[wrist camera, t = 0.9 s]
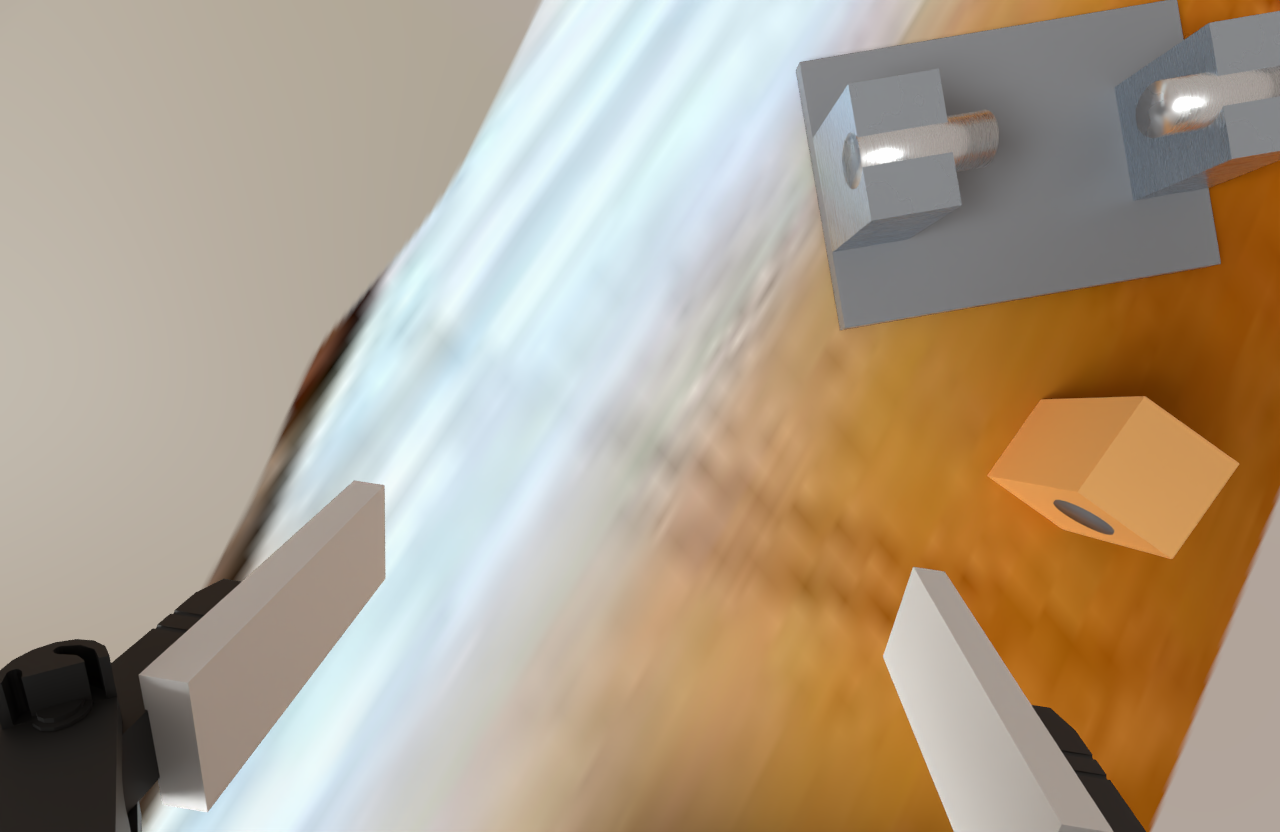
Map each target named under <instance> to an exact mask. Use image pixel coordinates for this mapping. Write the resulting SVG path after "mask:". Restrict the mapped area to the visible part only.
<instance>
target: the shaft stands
mask: <svg viewBox="0 0 1280 832" xmlns="http://www.w3.org/2000/svg"><path fill="white" fill-rule="evenodd" d="M1114 88H1115V94H1116V100H1117V106H1118V112H1119V118H1120V124H1121V130H1122V136H1123V142H1124V148H1125V154H1126V159H1127V165H1128V171H1129V177H1130V183H1131V189H1132V195H1133V201H1136V200H1141V199H1147V198H1153V197H1159V196H1165V195H1171V194H1176V193H1182V192H1188V191H1194V190H1200V189H1206V188H1210V187H1212V186H1215V185H1217V184H1220V183H1223V182H1225V181H1228V180H1230V179H1233V178H1235V177H1238V176H1240V175H1243V174H1245V173H1248V172H1251V171H1253V170H1256V169H1258V168H1261V167H1263V166H1266V165H1268V164H1271V163H1274V162H1276V161H1279V160H1280V11H1277V12H1271V13H1265V14H1259V15H1253V16H1247V17H1241V18H1235V19H1229V20H1224V21H1218V22H1212V23H1208V24H1207V25H1205V26H1204V27H1202V28H1201V29H1200V30H1198V31H1197V32H1195V33H1194V34H1192V35H1191V36H1189V37H1188V38H1186V39H1185V40H1183V41H1182V42H1180V43H1179V44H1177V45H1176V46H1174V47H1173V48H1172V49H1170V50H1169V51H1167V52H1166V53H1164V54H1163V55H1161V56H1160V57H1158V58H1157V59H1155V60H1154V61H1152V62H1151V63H1149V64H1148V65H1146V66H1145V67H1143V68H1142V69H1141V70H1139V71H1138V72H1136V73H1135V74H1133V75H1132V76H1130V77H1129V78H1127V79H1126V80H1124V81H1123V82H1121V83H1120V84H1118V85H1117V86H1115V87H1114ZM998 141H999V129H998V124H997V121H996V118H995V116H994V115H993V114H992V113H991V112H990V111H989V110H981V111H975V112H969V113H963V114H957V115H951V116H947V114H946V108H945V102H944V96H943V90H942V84H941V78H940V72H939V69H933V70H927V71H921V72H915V73H910V74H904V75H898V76H892V77H886V78H880V79H874V80H868V81H862V82H856V83H850V84H848V85H847V87H846V88H845V90H844V91H843V93H842V94H841V96H840V97H839V99H838V100H837V102H836V103H835V105H834V106H833V108H832V110H831V111H830V113H829V114H828V116H827V117H826V119H825V120H824V122H823V123H822V125H821V126H820V128H819V130H818V131H817V133H816V134H815V136H814V137H813V143H814V149H815V154H816V160H817V166H818V172H819V178H820V184H821V190H822V195H823V201H824V207H825V213H826V219H827V225H828V231H829V236H830V242H831V248H832V252H838V251H843V250H849V249H855V248H861V247H867V246H873V245H878V244H884V243H890V242H896V241H902V240H908V239H909V238H911V237H912V236H914V235H916V234H917V233H919V232H920V231H922V230H924V229H925V228H927V227H928V226H930V225H931V224H933V223H935V222H936V221H938V220H939V219H941V218H942V217H944V216H946V215H947V214H949V213H950V212H952V211H953V210H955V209H957V208H958V207H960V206H961V205H962V202H961V196H960V191H959V185H958V179H957V173H956V172H958V171H964V170H970V169H976V168H982V167H986V166H987V165H989V164H990V163H991V161H992V160H993V158H994V156H995V154H996V151H997V147H998Z"/></svg>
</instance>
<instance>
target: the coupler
mask: <svg viewBox="0 0 1280 832" xmlns="http://www.w3.org/2000/svg"><path fill="white" fill-rule="evenodd" d="M1238 465H1239V463H1238V462H1237V461H1235V460H1234V459H1232V458H1231V457H1230V456H1228V455H1227V454H1225V453H1224V452H1222V451H1221V450H1220V449H1218V448H1217V447H1215V446H1214V445H1213V444H1211V443H1210V442H1208V441H1207V440H1206V439H1204V438H1203V437H1201V436H1200V435H1199V434H1197V433H1196V432H1194V431H1193V430H1192V429H1190V428H1189V427H1187V426H1186V425H1185V424H1183V423H1182V422H1180V421H1179V420H1178V419H1176V418H1175V417H1173V416H1172V415H1171V414H1169V413H1168V412H1166V411H1165V410H1164V409H1162V408H1161V407H1159V406H1158V405H1157V404H1155V403H1154V402H1152V401H1151V400H1150V399H1148V398H1147V397H1145V396H1134V397H1103V398H1071V399H1041V400H1040V401H1039V403H1038V404H1037V405H1036V407H1035V408H1034V410H1033V411H1032V412H1031V414H1030V415H1029V417H1028V418H1027V420H1026V421H1025V422H1024V424H1023V425H1022V427H1021V428H1020V430H1019V431H1018V432H1017V434H1016V435H1015V437H1014V438H1013V439H1012V441H1011V442H1010V444H1009V445H1008V447H1007V448H1006V449H1005V451H1004V452H1003V454H1002V455H1001V457H1000V458H999V459H998V461H997V462H996V464H995V465H994V466H993V468H992V469H991V471H990V472H989V474H988V475H987V476H988V477H989V478H991V479H992V480H994V481H995V482H996V483H998V484H999V485H1001V486H1002V487H1003V488H1005V489H1006V490H1008V491H1009V492H1010V493H1012V494H1013V495H1015V496H1016V497H1018V498H1019V499H1020V500H1022V501H1023V502H1025V503H1026V504H1027V505H1029V506H1030V507H1032V508H1033V509H1034V510H1036V511H1037V512H1039V513H1040V514H1042V515H1043V516H1044V517H1046V518H1047V519H1049V520H1050V521H1051V522H1053V523H1054V524H1056V525H1057V526H1058V527H1060V528H1061V529H1063V530H1066V531H1070V532H1074V533H1077V534H1081V535H1085V536H1088V537H1092V538H1096V539H1099V540H1103V541H1107V542H1110V543H1114V544H1118V545H1121V546H1125V547H1129V548H1132V549H1136V550H1140V551H1143V552H1147V553H1151V554H1154V555H1158V556H1162V557H1165V558H1169V559H1173V558H1174V556H1175V555H1176V553H1177V552H1178V550H1179V549H1180V548H1181V546H1182V545H1183V543H1184V542H1185V540H1186V539H1187V538H1188V536H1189V535H1190V533H1191V532H1192V531H1193V529H1194V528H1195V526H1196V525H1197V523H1198V522H1199V521H1200V519H1201V518H1202V516H1203V515H1204V513H1205V512H1206V511H1207V509H1208V508H1209V506H1210V505H1211V503H1212V502H1213V501H1214V499H1215V498H1216V496H1217V495H1218V494H1219V492H1220V491H1221V489H1222V488H1223V486H1224V485H1225V484H1226V482H1227V481H1228V479H1229V478H1230V476H1231V475H1232V474H1233V472H1234V471H1235V469H1236V468H1237V467H1238Z"/></svg>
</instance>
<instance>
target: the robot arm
mask: <svg viewBox="0 0 1280 832" xmlns="http://www.w3.org/2000/svg"><path fill="white" fill-rule="evenodd" d="M384 580H385V492H384V485H380V484H373V483H367V482H360V481H353V482H352V483H351V484H350V485H349V486H348V487H346V488H345V489H344V490H343V491H342V492H341V493H340V494H339V495H338V496H336V497H335V498H334V499H333V500H332V501H331V502H330V503H329V504H328V505H326V506H325V507H324V508H323V509H322V510H321V511H320V512H319V513H318V514H316V515H315V516H314V517H313V518H312V519H311V520H310V521H309V522H308V523H306V524H305V525H304V526H303V527H302V528H301V529H300V530H299V531H298V532H296V533H295V534H294V535H293V536H292V537H291V538H290V539H289V540H288V541H286V542H285V543H284V544H283V545H282V546H281V547H280V548H279V549H278V550H277V551H275V552H274V553H273V554H272V555H271V556H270V557H269V558H268V559H267V560H265V561H264V562H263V563H262V564H261V565H260V566H259V567H258V568H257V569H255V570H254V571H253V572H252V573H251V574H250V575H249V576H248V577H247V578H245V579H244V580H243V581H242V582H240V581H234V580H228V579H223V580H220V581H218V582H216V583H214V584H212V585H210V586H208V587H206V588H204V589H202V590H200V591H198V592H196V593H195V594H194V595H192V596H191V597H190V598H189V599H187V600H186V601H185V602H184V603H183V604H182V605H180V606H179V607H178V608H177V609H176V610H175V612H174V614H170V615H168V616H167V617H166V618H165V619H164V620H163V621H161V622H160V623H159V624H158V625H157V628H156V629H152V630H151V631H149V632H148V633H147V634H146V635H145V636H143V637H142V638H141V639H140V640H139V641H138V642H136V643H135V644H134V645H133V646H131V647H130V648H129V649H128V650H127V651H125V652H124V653H123V654H122V655H121V656H120V657H118V658H117V659H116V660H115V661H114V662H113V663H111V662H110V657H109V654H108V651H107V649H106V647H105V646H104V645H102V644H100V643H97V642H96V641H92V640H79V639H75V640H68V641H62V642H55V643H52V644H49V645H46V646H43V647H40V648H37V649H34V650H32V651H30V652H28V653H26V654H24V655H22V656H20V657H18V658H16V659H14V660H12V661H11V662H10V663H9V664H7V665H6V666H5V667H4V668H3V669H1V670H0V832H142V823H141V810H140V805H139V800H140V799H141V798H142V797H143V796H144V795H145V794H146V792H147V791H148V790H149V789H150V788H151V787H152V786H153V784H154V783H155V782H156V781H157V780H158V783H159V788H160V793H161V799H162V804H163V805H167V806H173V807H179V808H185V809H191V810H197V811H203V812H208V811H209V810H210V808H211V807H212V806H213V804H214V803H215V802H216V801H217V799H218V798H219V797H220V795H221V794H222V793H223V791H224V790H225V789H226V787H227V786H228V785H229V783H230V782H231V781H232V779H233V778H234V777H235V776H236V774H237V773H238V772H239V770H240V769H241V768H242V766H243V765H244V764H245V762H246V761H247V760H248V758H249V757H250V756H251V754H252V753H253V752H254V751H255V749H256V748H257V747H258V745H259V744H260V743H261V741H262V740H263V739H264V737H265V736H266V735H267V733H268V732H269V731H270V729H271V728H272V727H273V726H274V724H275V723H276V722H277V720H278V719H279V718H280V716H281V715H282V714H283V712H284V711H285V710H286V708H287V707H288V706H289V704H290V703H291V702H292V701H293V699H294V698H295V697H296V695H297V694H298V693H299V691H300V690H301V689H302V687H303V686H304V685H305V683H306V682H307V681H308V679H309V678H310V677H311V676H312V674H313V673H314V672H315V670H316V669H317V668H318V666H319V665H320V664H321V662H322V661H323V660H324V658H325V657H326V656H327V654H328V653H329V652H330V651H331V649H332V648H333V647H334V645H335V644H336V643H337V641H338V640H339V639H340V637H341V636H342V635H343V633H344V632H345V631H346V629H347V628H348V627H349V626H350V624H351V623H352V622H353V620H354V619H355V618H356V616H357V615H358V614H359V612H360V611H361V610H362V608H363V607H364V606H365V605H366V603H367V602H368V601H369V599H370V598H371V597H372V595H373V594H374V593H375V591H376V590H377V589H378V587H379V586H380V585H381V583H382V582H383V581H384ZM883 658H884V660H885V663H886V665H887V668H888V670H889V673H890V675H891V678H892V680H893V683H894V685H895V687H896V690H897V692H898V695H899V697H900V700H901V702H902V705H903V707H904V710H905V712H906V715H907V717H908V720H909V722H910V724H911V727H912V729H913V732H914V734H915V737H916V739H917V742H918V744H919V747H920V749H921V752H922V754H923V757H924V759H925V761H926V764H927V766H928V769H929V771H930V774H931V776H932V779H933V781H934V784H935V786H936V789H937V791H938V794H939V796H940V799H941V801H942V803H943V806H944V808H945V811H946V813H947V816H948V818H949V821H950V823H951V826H952V828H953V831H954V832H1146V831H1145V830H1144V828H1143V827H1142V825H1141V824H1140V822H1139V821H1138V820H1137V818H1136V817H1135V815H1134V814H1133V812H1132V811H1131V809H1130V808H1129V807H1128V805H1127V804H1126V802H1125V801H1124V799H1123V798H1122V797H1121V795H1120V794H1119V792H1118V791H1117V789H1116V788H1115V787H1114V785H1113V784H1112V782H1111V781H1110V780H1107V779H1106V774H1105V772H1104V771H1103V769H1102V768H1101V767H1100V765H1099V764H1098V762H1097V761H1096V760H1094V759H1093V758H1092V754H1091V752H1090V751H1089V749H1088V748H1087V747H1086V745H1085V744H1084V742H1083V741H1082V739H1081V738H1080V737H1079V735H1078V734H1077V732H1076V731H1075V730H1074V729H1073V728H1072V727H1071V726H1070V725H1068V724H1067V723H1066V722H1065V721H1064V720H1063V719H1062V718H1061V717H1060V716H1059V715H1057V714H1056V713H1055V712H1054V711H1053V710H1052V709H1051V708H1047V707H1040V706H1034V705H1031V704H1030V702H1029V701H1028V699H1027V698H1026V696H1025V695H1024V693H1023V692H1022V690H1021V688H1020V687H1019V685H1018V684H1017V682H1016V681H1015V679H1014V678H1013V676H1012V675H1011V673H1010V672H1009V670H1008V668H1007V667H1006V665H1005V664H1004V662H1003V661H1002V659H1001V658H1000V656H999V655H998V653H997V652H996V650H995V648H994V647H993V645H992V644H991V642H990V641H989V639H988V638H987V636H986V635H985V633H984V631H983V630H982V628H981V627H980V625H979V624H978V622H977V621H976V619H975V618H974V616H973V615H972V613H971V611H970V610H969V608H968V607H967V605H966V604H965V602H964V601H963V599H962V598H961V596H960V595H959V593H958V591H957V590H956V588H955V587H954V585H953V584H952V582H951V581H950V579H949V578H948V576H947V575H946V573H945V572H943V571H937V570H930V569H924V568H917V567H913V569H912V572H911V575H910V578H909V581H908V584H907V587H906V590H905V593H904V596H903V599H902V602H901V605H900V608H899V611H898V614H897V617H896V620H895V623H894V626H893V629H892V632H891V635H890V638H889V641H888V643H887V646H886V649H885V652H884V655H883Z"/></svg>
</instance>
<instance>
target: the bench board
mask: <svg viewBox="0 0 1280 832" xmlns="http://www.w3.org/2000/svg"><path fill="white" fill-rule="evenodd" d="M1183 40H1184V39H1183V33H1182V27H1181V21H1180V15H1179V9H1178V3H1177V0H1166V1H1160V2H1154V3H1148V4H1142V5H1136V6H1131V7H1125V8H1119V9H1113V10H1107V11H1101V12H1095V13H1089V14H1083V15H1077V16H1071V17H1065V18H1059V19H1053V20H1047V21H1041V22H1036V23H1030V24H1024V25H1018V26H1012V27H1006V28H1000V29H994V30H988V31H982V32H976V33H970V34H964V35H958V36H952V37H946V38H941V39H935V40H929V41H923V42H917V43H911V44H905V45H899V46H893V47H887V48H881V49H875V50H869V51H863V52H857V53H851V54H846V55H840V56H834V57H828V58H822V59H816V60H810V61H804V62H800V63H799V65H798V67H797V69H796V74H797V80H798V86H799V92H800V98H801V104H802V109H803V115H804V121H805V127H806V133H807V139H808V145H809V150H810V156H811V162H812V168H813V174H814V180H815V186H816V191H817V197H818V203H819V209H820V215H821V221H822V227H823V232H824V238H825V244H826V250H827V256H828V262H829V268H830V273H831V279H832V285H833V291H834V297H835V303H836V309H837V314H838V320H839V326H840V330H845V329H851V328H856V327H862V326H868V325H874V324H880V323H885V322H891V321H897V320H903V319H909V318H915V317H920V316H926V315H932V314H938V313H944V312H949V311H955V310H961V309H967V308H973V307H978V306H984V305H990V304H996V303H1002V302H1007V301H1013V300H1019V299H1025V298H1031V297H1036V296H1042V295H1048V294H1054V293H1060V292H1065V291H1071V290H1077V289H1083V288H1089V287H1095V286H1100V285H1106V284H1112V283H1118V282H1124V281H1129V280H1135V279H1141V278H1147V277H1153V276H1158V275H1164V274H1170V273H1176V272H1182V271H1187V270H1193V269H1199V268H1205V267H1210V266H1213V265H1217V264H1221V261H1220V255H1219V249H1218V243H1217V237H1216V231H1215V225H1214V219H1213V213H1212V207H1211V201H1210V195H1209V189H1208V188H1206V189H1200V190H1194V191H1188V192H1182V193H1176V194H1171V195H1165V196H1159V197H1153V198H1147V199H1141V200H1136V201H1133V195H1132V189H1131V183H1130V177H1129V171H1128V165H1127V159H1126V154H1125V148H1124V142H1123V136H1122V130H1121V124H1120V118H1119V112H1118V106H1117V100H1116V94H1115V88H1114V87H1115V86H1117V85H1118V84H1120V83H1121V82H1123V81H1124V80H1126V79H1127V78H1129V77H1130V76H1132V75H1133V74H1135V73H1136V72H1138V71H1139V70H1141V69H1142V68H1143V67H1145V66H1146V65H1148V64H1149V63H1151V62H1152V61H1154V60H1155V59H1157V58H1158V57H1160V56H1161V55H1163V54H1164V53H1166V52H1167V51H1169V50H1170V49H1172V48H1173V47H1174V46H1176V45H1177V44H1179V43H1180V42H1182V41H1183ZM933 69H939V72H940V78H941V84H942V90H943V96H944V102H945V108H946V114H947V116H951V115H957V114H963V113H969V112H975V111H981V110H989V111H990V112H991V113H992V114H993V115H994V116H995V118H996V121H997V124H998V129H999V141H998V147H997V151H996V154H995V156H994V158H993V160H992V161H991V163H990V164H989V165H987V166H986V167H982V168H976V169H970V170H964V171H958V172H956V173H957V179H958V185H959V191H960V196H961V202H962V205H961V206H960V207H958V208H957V209H955V210H953V211H952V212H950V213H949V214H947V215H946V216H944V217H942V218H941V219H939V220H938V221H936V222H935V223H933V224H931V225H930V226H928V227H927V228H925V229H924V230H922V231H920V232H919V233H917V234H916V235H914V236H912V237H911V238H909V239H908V240H902V241H896V242H890V243H884V244H878V245H873V246H867V247H861V248H855V249H849V250H843V251H838V252H832V248H831V242H830V236H829V231H828V225H827V219H826V213H825V207H824V201H823V195H822V190H821V184H820V178H819V172H818V166H817V160H816V154H815V149H814V143H813V137H814V136H815V134H816V133H817V131H818V130H819V128H820V126H821V125H822V123H823V122H824V120H825V119H826V117H827V116H828V114H829V113H830V111H831V110H832V108H833V106H834V105H835V103H836V102H837V100H838V99H839V97H840V96H841V94H842V93H843V91H844V90H845V88H846V87H847V85H848V84H850V83H856V82H862V81H868V80H874V79H880V78H886V77H892V76H898V75H904V74H910V73H915V72H921V71H927V70H933Z"/></svg>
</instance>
